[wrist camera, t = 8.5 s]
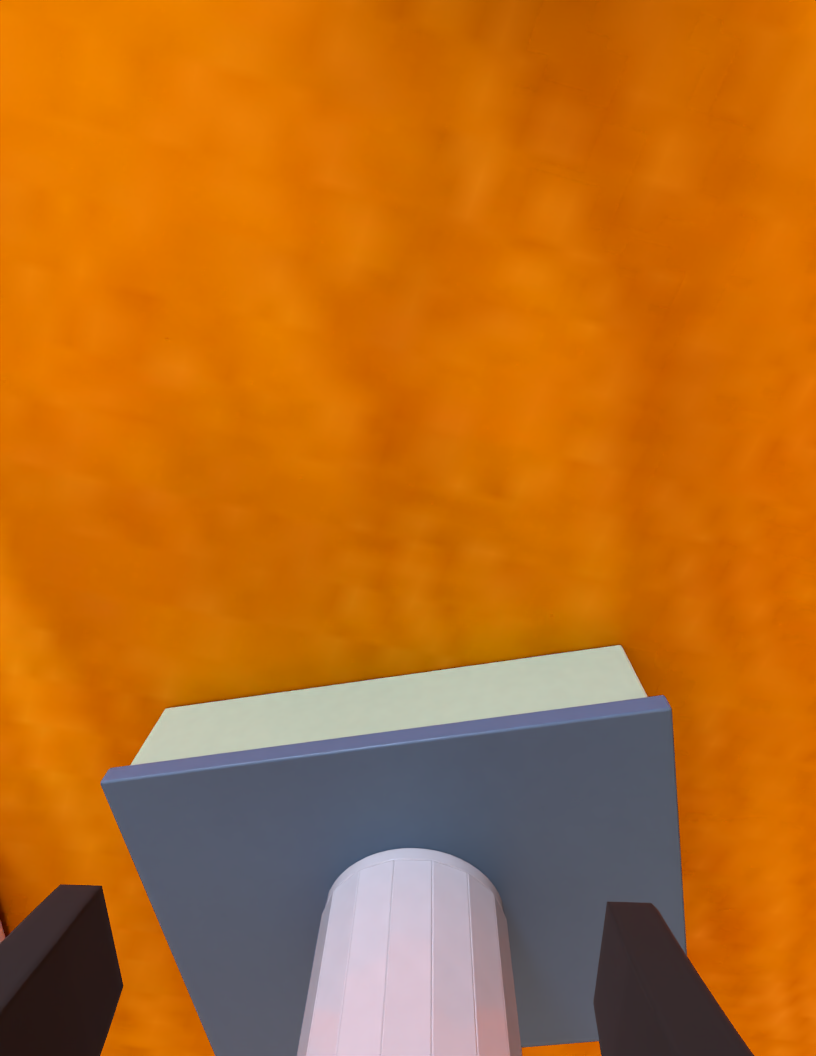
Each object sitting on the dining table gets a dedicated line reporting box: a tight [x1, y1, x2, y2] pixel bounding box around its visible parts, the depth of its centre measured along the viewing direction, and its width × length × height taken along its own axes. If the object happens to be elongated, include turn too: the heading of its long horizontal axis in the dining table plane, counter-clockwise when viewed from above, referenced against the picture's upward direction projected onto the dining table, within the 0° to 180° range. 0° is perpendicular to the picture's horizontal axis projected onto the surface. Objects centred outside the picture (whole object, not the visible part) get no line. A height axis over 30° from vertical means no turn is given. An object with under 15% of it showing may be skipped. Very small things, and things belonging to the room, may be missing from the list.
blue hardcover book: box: [101, 645, 687, 1056], centre depth 20 cm, size 15×12×4 cm
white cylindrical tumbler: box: [297, 848, 522, 1056], centre depth 16 cm, size 5×5×6 cm
